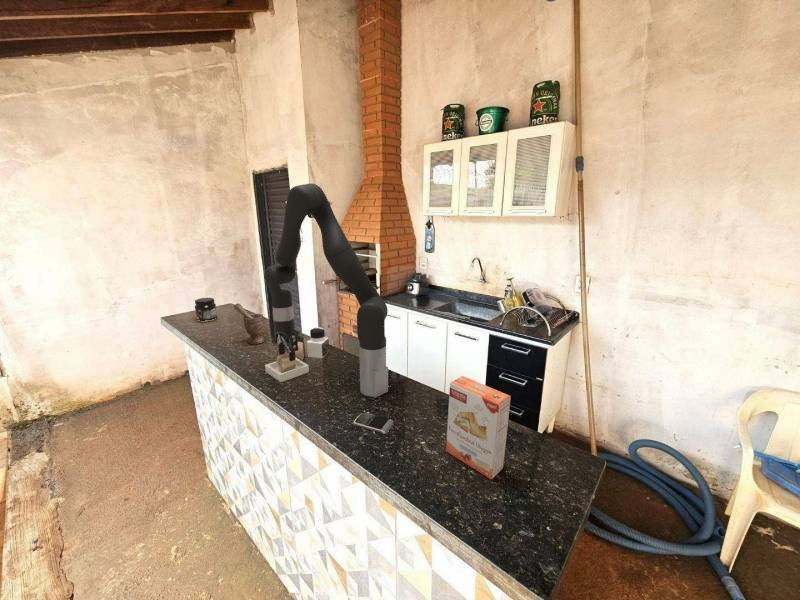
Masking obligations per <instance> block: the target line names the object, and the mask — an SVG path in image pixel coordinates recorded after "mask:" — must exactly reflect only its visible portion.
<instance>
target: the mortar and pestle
mask: <svg viewBox="0 0 800 600" xmlns="http://www.w3.org/2000/svg"><path fill="white" fill-rule="evenodd" d="M233 309H235V310H236V311H237V312H238V313H239V314H240V315H242V316H243V322H244V328H245V331H246V333H247V334H248V335H250V337H249V338H248V341H247V343H248V344H249V343H250V344H249V345H251V344H255V345H260V344H259V343H261V344H262V342H263V343H264V341H265V342H266V340H265V338H264V336H262V333H263V331H264V325H265V321H264V314H262V313H252V314H251V313H250V314H249V313H248V312H247V311H246V308H244V307H243V306H242V305H241V304H240V303H236V304H234V305H233Z"/></svg>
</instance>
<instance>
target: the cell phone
mask: <svg viewBox="0 0 800 600" xmlns="http://www.w3.org/2000/svg"><path fill="white" fill-rule="evenodd" d="M353 424H354V426H356V427H359V428H363V429H366V430H371V431H372V432H376V433H379V434H387V433H388V432H389V430H390V429H391V428H392V426H393V425H394V420H393V419H390V418H387V417H383V416H379V415H375V414H372V413H368V412H362V413H360V414H359V415H358V416H356V418H355V419H354V421H353Z"/></svg>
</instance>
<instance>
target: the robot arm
mask: <svg viewBox="0 0 800 600" xmlns="http://www.w3.org/2000/svg"><path fill="white" fill-rule="evenodd" d="M328 199H329V198H328V197H327V195H326V194H325V191H324V190H323V189H322V188H321V187H320V186H319V185H317V184H315V183H306V184H305V183H304V184H299V185H295V186H293V187H291V188H290V189H289V191H288V192H287V197H286V202H285V203H286V204H285V211H284V216H283V217H284V219H283V227H282V232H281V233H282V234H281V235H280V240H279V244H278V246H277V250H276V252H275V261H276V262H277V264H276V265H270V266H267V267H266V269H265V270H264V281H265V283H266V285H267V287H268V290H269V292H270V295H271V301H272V302H271V303H272V321H273V335H274V337H273V338H274V343H276V345H277V346H278V354H279V356H280V355H284V354H286V349H285V348H287V350H288V353H289V360H290V361H294V360H295V359H296V357H295V351H298V342H299V341H298V336H297V335H293V330H295V327H296V325H295V322H296V321H295V314H294V313H295V311H294V306H293V297H292V295H293V294H292V292H291V290H289V289H283V288H282V287H281V285H284V284H288V283H292V281H294V279H295V277H296V264H297V263H296V261H297V259H298V256H299V253H300V250H301V248H302V239H301V238H302V236H301V227H302V224H303V222H304V221H305V218H306V217H307V216H311V215H312V217H313V218H314V220H315V222H316V223H317V225H318V227H319V230H320V233H321V243H322V250H323V254H324V257H325V259H326V261H327V262H328V264H329V266H330V268H331V269H332V271H333V272H334V274H335V275H336V276H337V277H338V278H339V279H340V280H341V281H342V282H343V284H345V285H346V286H347V287H348V288H349V289H350V290H351V292H352V293H353V295H354V297H355V299H356V300H357V303H358V304H359V308H358V309H357V314H356V327H357V328H356V330H357V333H356V334H357V339H358V342H359V343H358V344H359V347H358V348H359V383H360V384H359V388H360V389H359V391H360V393H361V394H362V395H364V396H367V397H372V398H375V399H376V398H378V397H380V396H382V395H384V394H385V393H388V392H389V367H388V366H387V338H386V336H385V335H386V332H385V330H386V328H385V322H386V318H387V316H388V311H389V310H388V305H387V304H386V302H385V300H384V299H383V298H382V296H381V295H380V294H379V292H378V291H377V289H376V288H375V287H374V285H373V284H372V283H373V282H371V281H370V278H369V276H368V275H367V272H366V270H365V268H364V266H363V265H362V263H361V261H360V259H359V257H358V255H357V253H356V251H355V250H354V248H353V246H352V245H351V243H350V242H349V239H348V238H347V235H346V234H345V233H344V231H343V229H342V227H341V225H340V223H339V221H338V219H337V218H336V215H335V213H334V211H333V209H332V207H331V204H330V202H329V200H328Z"/></svg>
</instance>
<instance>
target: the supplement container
mask: <svg viewBox="0 0 800 600" xmlns="http://www.w3.org/2000/svg"><path fill="white" fill-rule="evenodd" d="M194 304H195V305H194V310H195V316H196V319H195V320H196V321H197V320H200V321H205V320H212V319H215V318H217V319H218V314H217V313H218V312H217V304H216V303H215V298H213V297H201V298H197V299H195V300H194Z"/></svg>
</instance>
